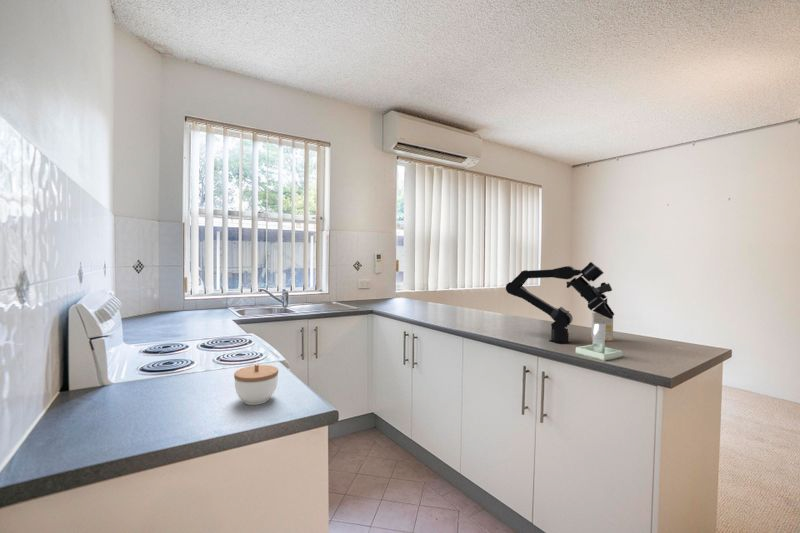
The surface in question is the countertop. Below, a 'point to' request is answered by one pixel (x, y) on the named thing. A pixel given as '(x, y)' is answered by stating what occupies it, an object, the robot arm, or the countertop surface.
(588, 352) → the tray
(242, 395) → the lidded jar
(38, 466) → the countertop surface
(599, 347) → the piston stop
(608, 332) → the supplement box
